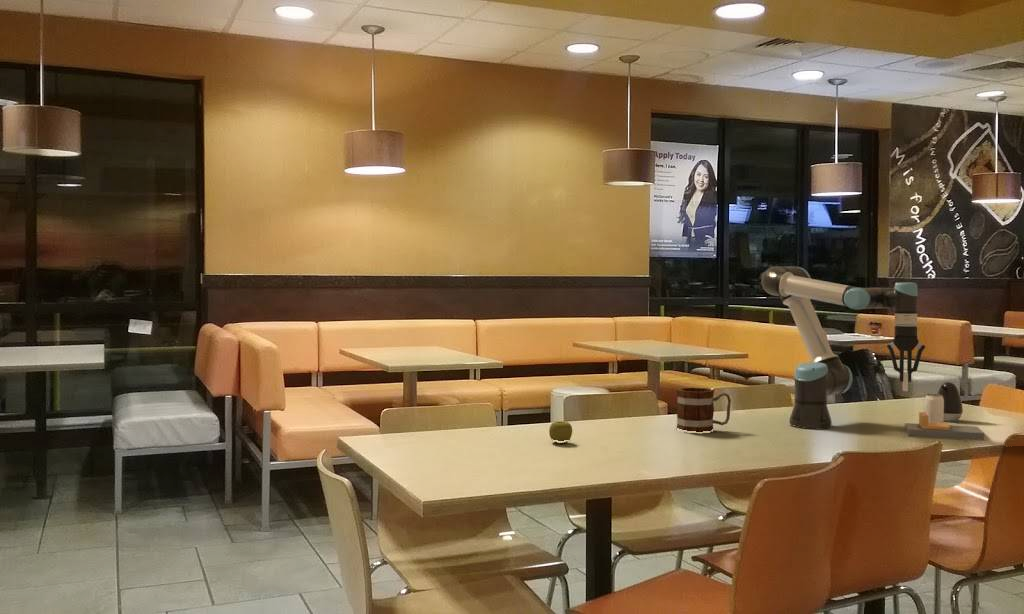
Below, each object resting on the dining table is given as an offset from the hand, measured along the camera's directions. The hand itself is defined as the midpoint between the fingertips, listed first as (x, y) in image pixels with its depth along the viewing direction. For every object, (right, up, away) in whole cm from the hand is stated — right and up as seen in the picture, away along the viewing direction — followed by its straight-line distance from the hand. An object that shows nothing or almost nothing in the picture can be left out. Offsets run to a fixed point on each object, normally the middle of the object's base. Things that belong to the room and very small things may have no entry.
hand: (905, 390), depth 328 cm
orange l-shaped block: (+9, -13, -2) cm, 16 cm away
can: (+17, -15, +14) cm, 27 cm away
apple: (-125, -16, -20) cm, 128 cm away
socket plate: (+12, -15, -3) cm, 20 cm away
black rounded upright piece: (+29, -15, +28) cm, 43 cm away
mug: (-72, -15, +4) cm, 73 cm away
